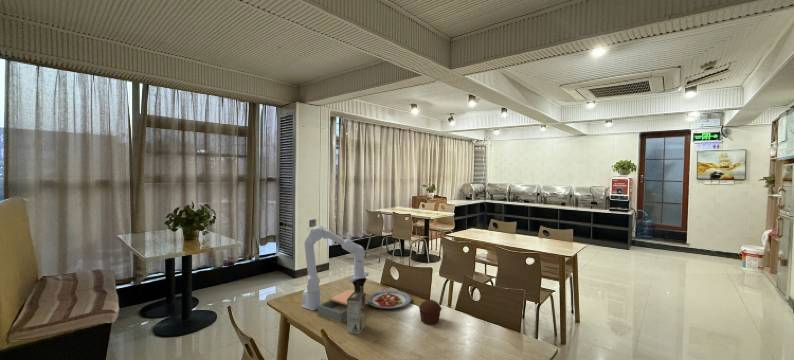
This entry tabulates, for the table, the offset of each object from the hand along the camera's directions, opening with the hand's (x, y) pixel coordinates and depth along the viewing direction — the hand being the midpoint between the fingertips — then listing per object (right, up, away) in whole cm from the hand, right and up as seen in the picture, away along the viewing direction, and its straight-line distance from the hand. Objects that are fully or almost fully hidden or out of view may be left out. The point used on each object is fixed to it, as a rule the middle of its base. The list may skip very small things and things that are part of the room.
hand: (359, 291), depth 187 cm
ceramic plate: (+17, -7, +4) cm, 18 cm away
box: (-8, -7, -12) cm, 17 cm away
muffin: (+38, -8, -20) cm, 44 cm away
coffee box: (+2, -8, -29) cm, 30 cm away
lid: (-4, -2, -5) cm, 7 cm away
